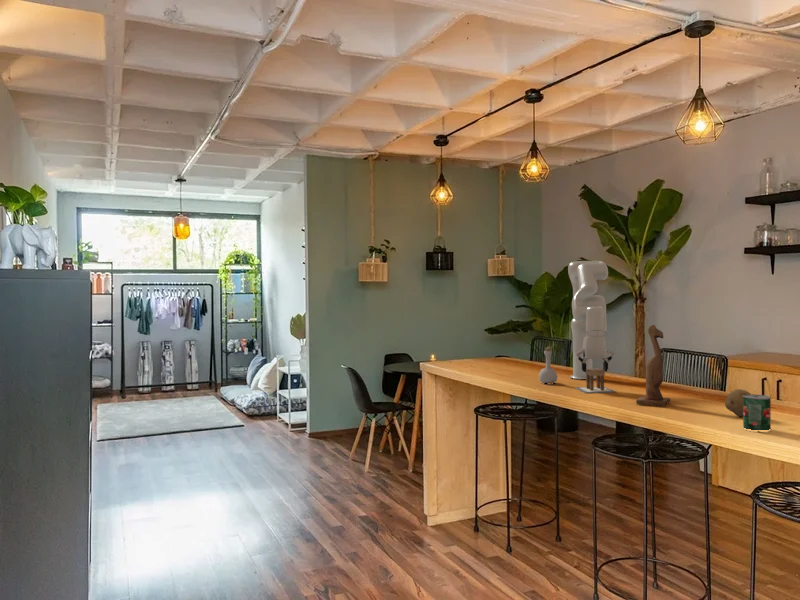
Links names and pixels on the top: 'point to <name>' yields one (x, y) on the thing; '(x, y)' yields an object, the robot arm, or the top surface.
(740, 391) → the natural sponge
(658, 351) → the bird sculpture
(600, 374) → the stool
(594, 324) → the robot arm
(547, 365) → the potion bottle
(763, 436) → the top surface
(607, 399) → the top surface
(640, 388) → the top surface
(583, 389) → the mat
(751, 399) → the canned tomato
